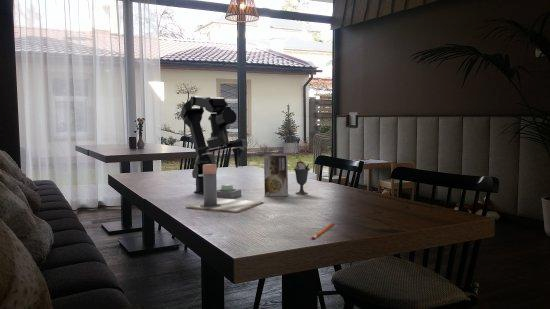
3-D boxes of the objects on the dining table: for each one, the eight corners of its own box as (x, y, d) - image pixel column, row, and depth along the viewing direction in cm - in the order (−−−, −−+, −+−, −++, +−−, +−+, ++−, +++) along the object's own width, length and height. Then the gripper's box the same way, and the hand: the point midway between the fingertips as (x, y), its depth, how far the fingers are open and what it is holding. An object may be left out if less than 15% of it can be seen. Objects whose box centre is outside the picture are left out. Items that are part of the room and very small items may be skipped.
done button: (219, 192, 174) (219, 185, 174) (225, 190, 178) (225, 184, 178) (229, 192, 172) (229, 186, 172) (234, 191, 176) (234, 184, 176)
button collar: (213, 197, 174) (212, 191, 173) (223, 194, 181) (223, 188, 181) (230, 198, 170) (230, 192, 170) (241, 195, 177) (241, 189, 177)
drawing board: (185, 208, 153) (185, 206, 153) (216, 199, 170) (216, 197, 170) (236, 213, 144) (236, 210, 144) (263, 203, 162) (263, 201, 161)
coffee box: (288, 193, 181) (288, 153, 180) (287, 196, 175) (287, 155, 174) (265, 193, 182) (265, 153, 181) (263, 196, 176) (263, 155, 175)
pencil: (311, 240, 113) (311, 237, 113) (333, 224, 130) (333, 221, 130) (314, 240, 112) (314, 237, 112) (336, 224, 129) (335, 221, 129)
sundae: (290, 193, 183) (290, 156, 182) (304, 191, 186) (304, 155, 185) (298, 195, 177) (297, 157, 176) (312, 194, 180) (312, 156, 179)
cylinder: (200, 205, 153) (200, 164, 152) (210, 203, 157) (209, 163, 156) (210, 207, 151) (209, 165, 150) (220, 205, 154) (219, 164, 153)
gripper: (187, 132, 167) (194, 174, 166) (233, 122, 161) (240, 165, 160) (201, 134, 177) (207, 173, 176) (244, 125, 172) (251, 165, 171)
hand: (225, 169), depth 171 cm, fingers open, 9 cm apart
